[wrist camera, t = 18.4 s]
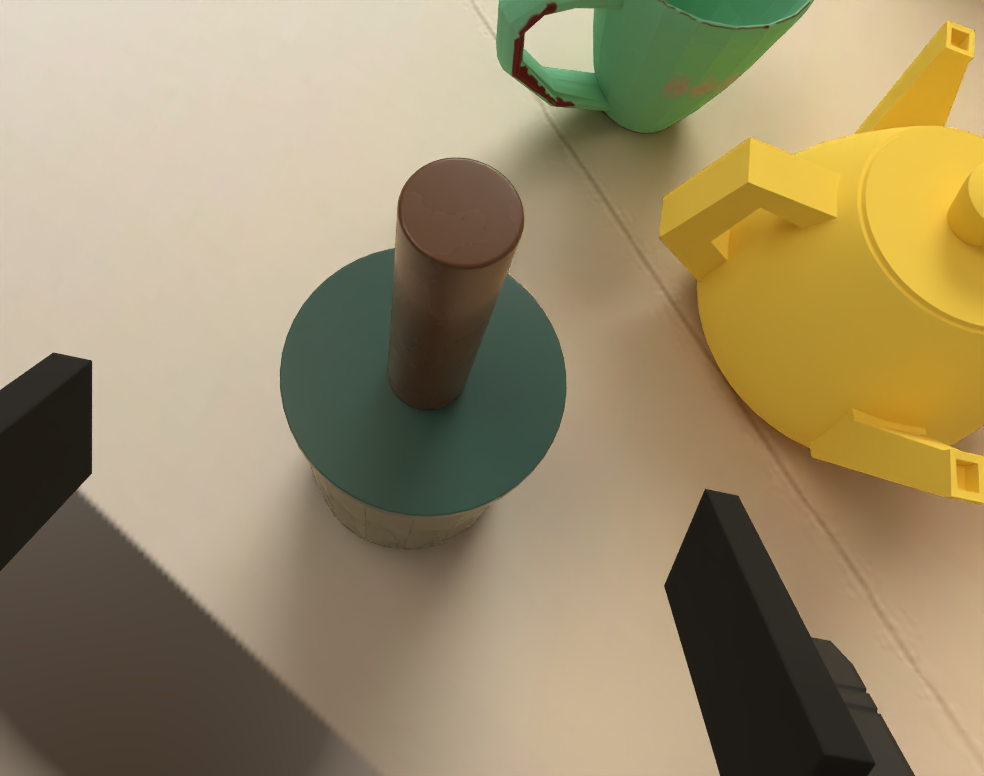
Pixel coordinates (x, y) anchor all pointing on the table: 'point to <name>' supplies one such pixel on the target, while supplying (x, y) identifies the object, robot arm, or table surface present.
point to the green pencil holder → (392, 522)
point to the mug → (648, 53)
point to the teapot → (854, 281)
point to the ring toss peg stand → (428, 357)
